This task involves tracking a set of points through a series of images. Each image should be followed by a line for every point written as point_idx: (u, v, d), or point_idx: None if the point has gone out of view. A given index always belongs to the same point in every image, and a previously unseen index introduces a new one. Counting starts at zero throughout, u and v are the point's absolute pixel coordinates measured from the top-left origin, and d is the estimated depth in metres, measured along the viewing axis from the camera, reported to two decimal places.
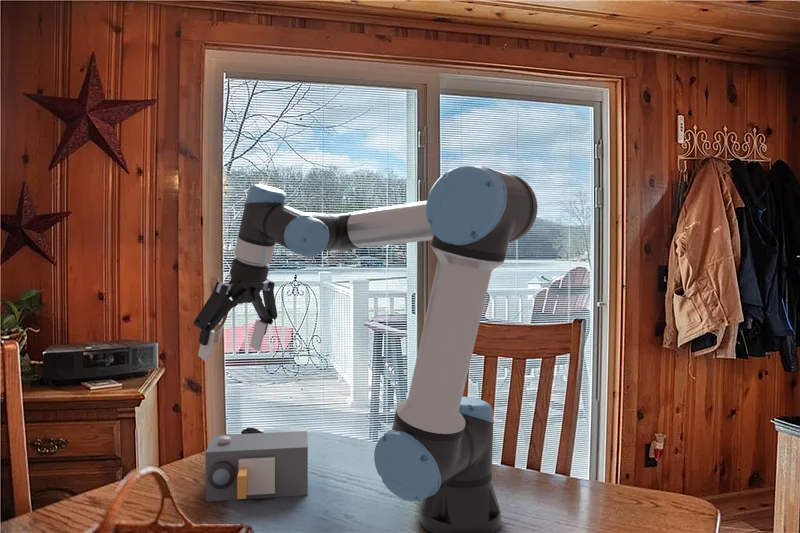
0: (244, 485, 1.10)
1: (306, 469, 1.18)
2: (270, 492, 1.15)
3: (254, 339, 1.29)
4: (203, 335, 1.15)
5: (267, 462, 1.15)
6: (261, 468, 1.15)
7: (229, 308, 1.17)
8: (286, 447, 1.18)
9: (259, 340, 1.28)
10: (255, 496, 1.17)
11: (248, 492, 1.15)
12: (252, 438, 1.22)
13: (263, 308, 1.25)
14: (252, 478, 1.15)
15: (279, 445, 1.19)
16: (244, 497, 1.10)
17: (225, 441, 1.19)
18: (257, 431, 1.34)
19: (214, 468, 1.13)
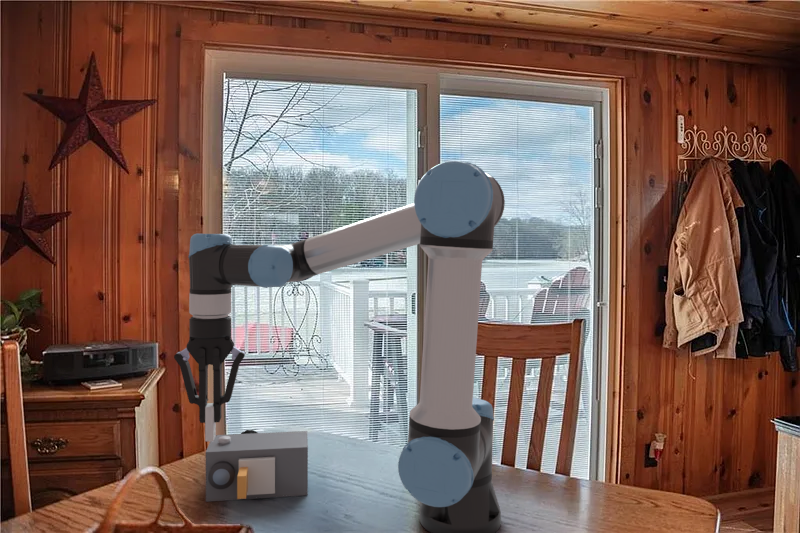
0: (244, 485, 1.10)
1: (306, 469, 1.18)
2: (270, 492, 1.15)
3: None
4: None
5: (267, 462, 1.15)
6: (261, 468, 1.15)
7: (203, 374, 1.08)
8: (286, 447, 1.18)
9: None
10: (255, 496, 1.17)
11: (248, 492, 1.15)
12: (252, 438, 1.22)
13: (217, 382, 1.08)
14: (252, 478, 1.15)
15: (279, 445, 1.19)
16: (244, 497, 1.10)
17: (225, 441, 1.19)
18: None
19: (214, 468, 1.13)
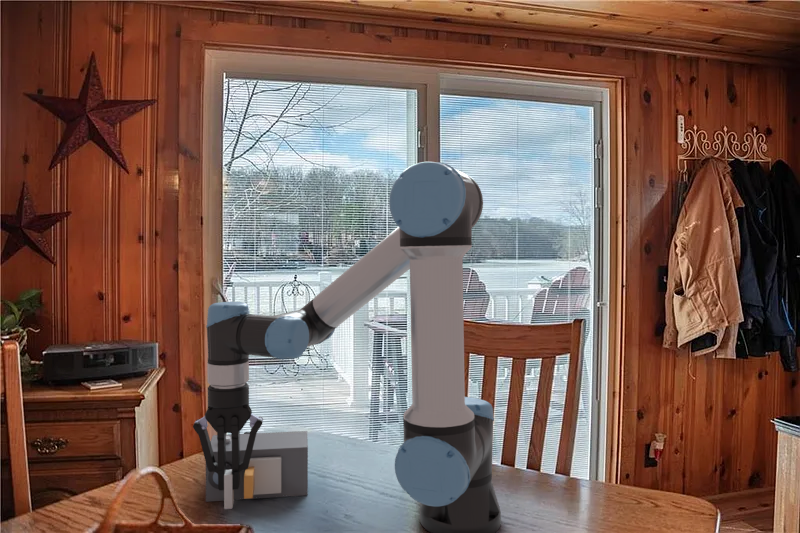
0: (251, 485, 1.10)
1: (306, 469, 1.18)
2: (276, 492, 1.16)
3: None
4: (218, 478, 1.10)
5: (273, 462, 1.15)
6: (267, 468, 1.15)
7: (221, 442, 1.09)
8: (286, 447, 1.18)
9: None
10: (255, 496, 1.17)
11: (254, 492, 1.15)
12: None
13: (236, 449, 1.09)
14: (258, 478, 1.15)
15: (279, 445, 1.19)
16: (251, 497, 1.10)
17: None
18: None
19: None
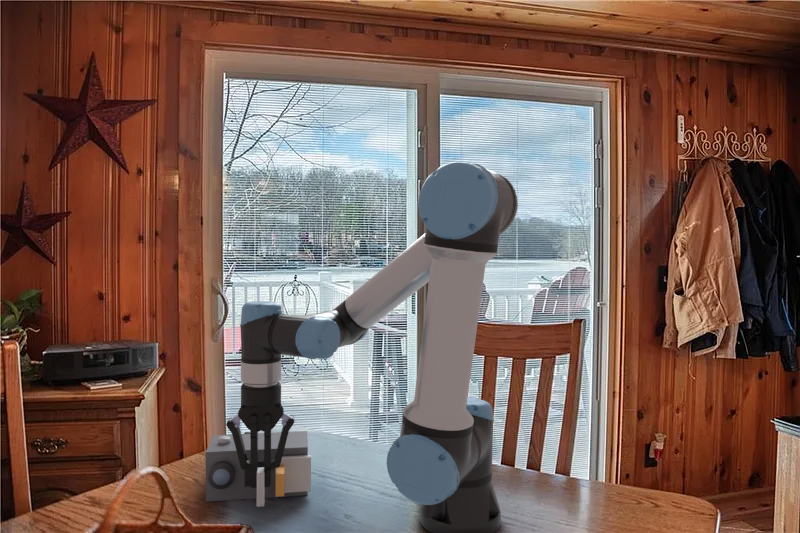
0: (282, 483, 1.11)
1: None
2: (306, 490, 1.17)
3: None
4: None
5: (303, 460, 1.16)
6: (297, 466, 1.16)
7: (254, 440, 1.10)
8: (286, 447, 1.18)
9: None
10: (255, 496, 1.17)
11: (285, 490, 1.16)
12: None
13: (268, 447, 1.10)
14: (289, 476, 1.16)
15: None
16: (282, 495, 1.11)
17: (225, 441, 1.19)
18: None
19: (214, 468, 1.13)
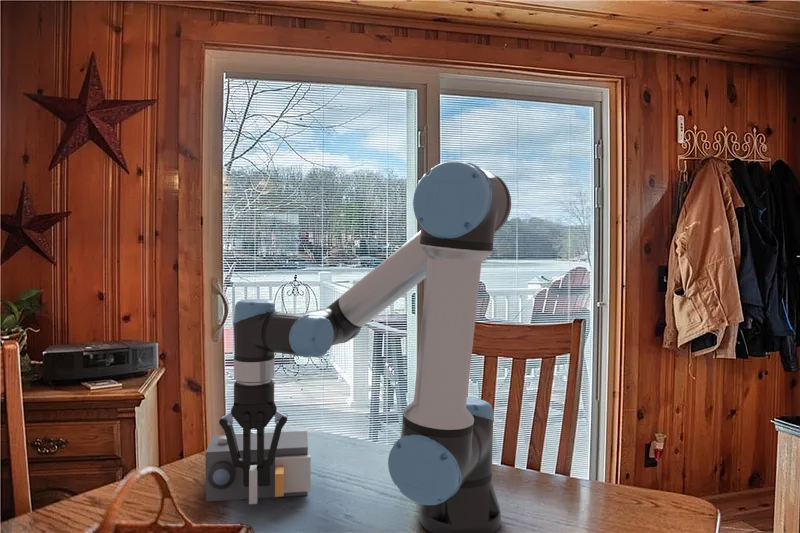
0: (282, 483, 1.11)
1: None
2: (306, 490, 1.17)
3: None
4: (243, 474, 1.11)
5: (303, 460, 1.16)
6: (297, 466, 1.16)
7: (247, 438, 1.10)
8: (286, 447, 1.18)
9: None
10: None
11: (284, 490, 1.16)
12: (252, 438, 1.22)
13: (261, 445, 1.10)
14: (288, 476, 1.16)
15: (279, 445, 1.19)
16: (282, 495, 1.11)
17: (225, 441, 1.19)
18: None
19: (214, 468, 1.13)
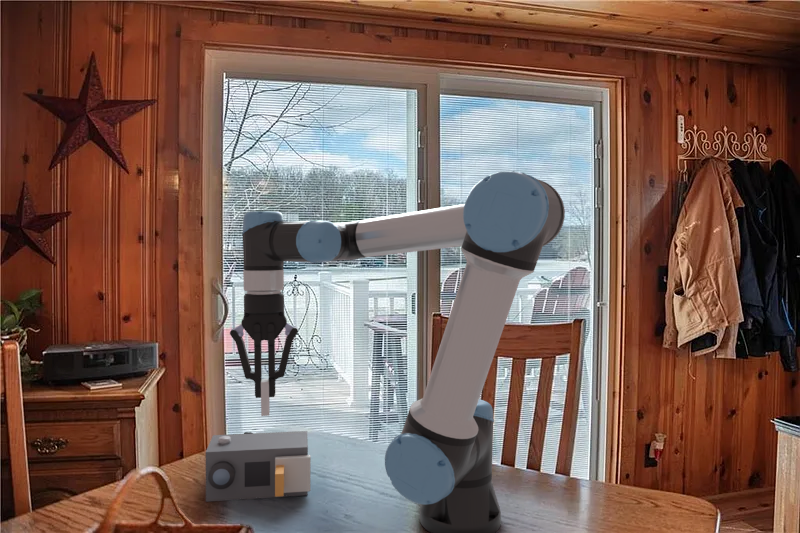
0: (282, 483, 1.11)
1: None
2: (306, 490, 1.17)
3: None
4: None
5: (303, 460, 1.16)
6: (297, 466, 1.16)
7: (258, 350, 1.10)
8: (286, 447, 1.18)
9: None
10: (255, 496, 1.17)
11: (284, 490, 1.16)
12: (252, 438, 1.22)
13: (272, 357, 1.10)
14: (288, 476, 1.16)
15: (279, 445, 1.19)
16: (282, 495, 1.11)
17: (225, 441, 1.19)
18: None
19: (214, 468, 1.13)
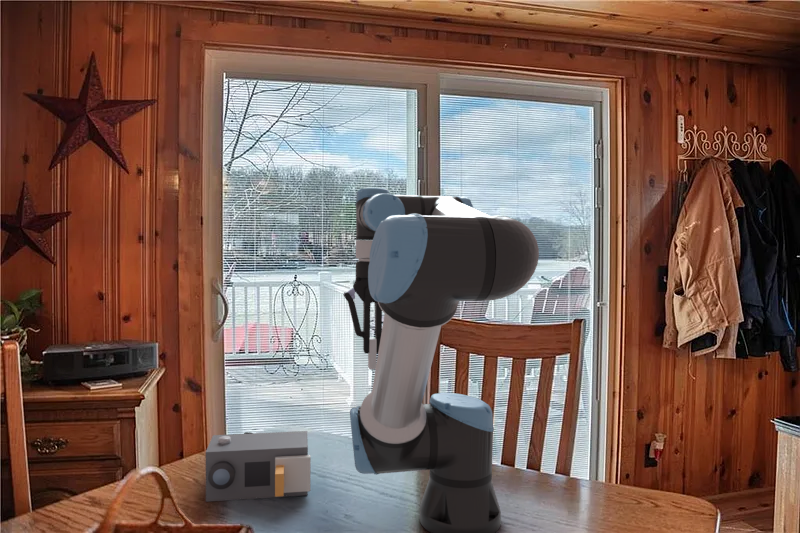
0: (282, 483, 1.11)
1: None
2: (306, 490, 1.17)
3: None
4: (363, 343, 1.25)
5: (303, 460, 1.16)
6: (297, 466, 1.16)
7: (368, 310, 1.24)
8: (286, 447, 1.18)
9: (373, 357, 1.25)
10: (255, 496, 1.17)
11: (284, 490, 1.16)
12: (252, 438, 1.22)
13: (379, 317, 1.25)
14: (288, 476, 1.16)
15: (279, 445, 1.19)
16: (282, 495, 1.11)
17: (225, 441, 1.19)
18: None
19: (214, 468, 1.13)
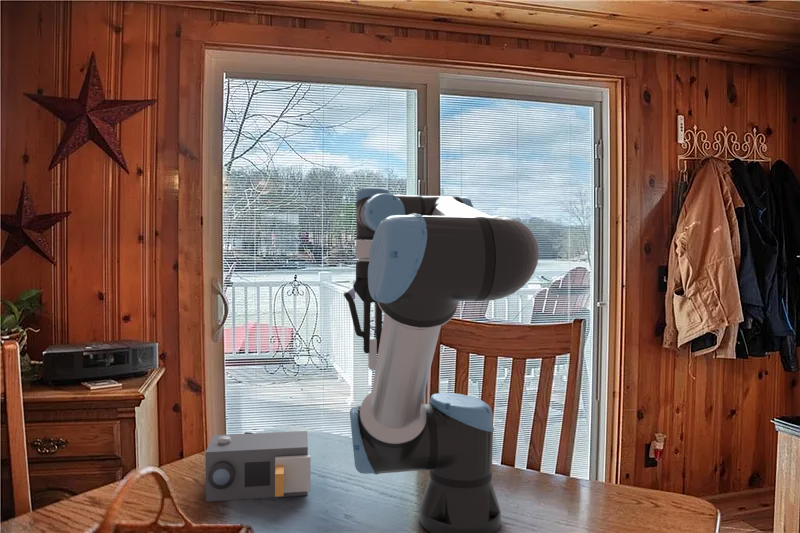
0: (282, 483, 1.11)
1: None
2: (306, 490, 1.17)
3: None
4: (364, 343, 1.25)
5: (303, 460, 1.16)
6: (297, 466, 1.16)
7: (368, 310, 1.24)
8: (286, 447, 1.18)
9: (373, 357, 1.25)
10: (255, 496, 1.17)
11: (284, 490, 1.16)
12: (252, 438, 1.22)
13: (380, 317, 1.25)
14: (288, 476, 1.16)
15: (279, 445, 1.19)
16: (282, 495, 1.11)
17: (225, 441, 1.19)
18: None
19: (214, 468, 1.13)
